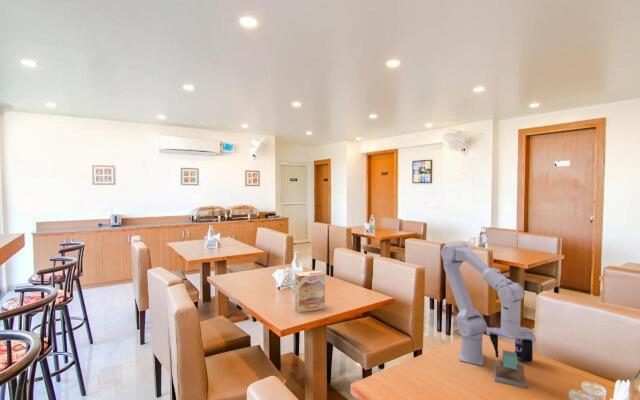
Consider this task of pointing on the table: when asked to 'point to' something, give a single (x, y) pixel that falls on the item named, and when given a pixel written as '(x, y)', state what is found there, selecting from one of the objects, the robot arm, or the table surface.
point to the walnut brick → (509, 372)
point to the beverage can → (519, 347)
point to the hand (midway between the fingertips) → (509, 358)
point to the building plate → (509, 380)
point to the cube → (509, 359)
